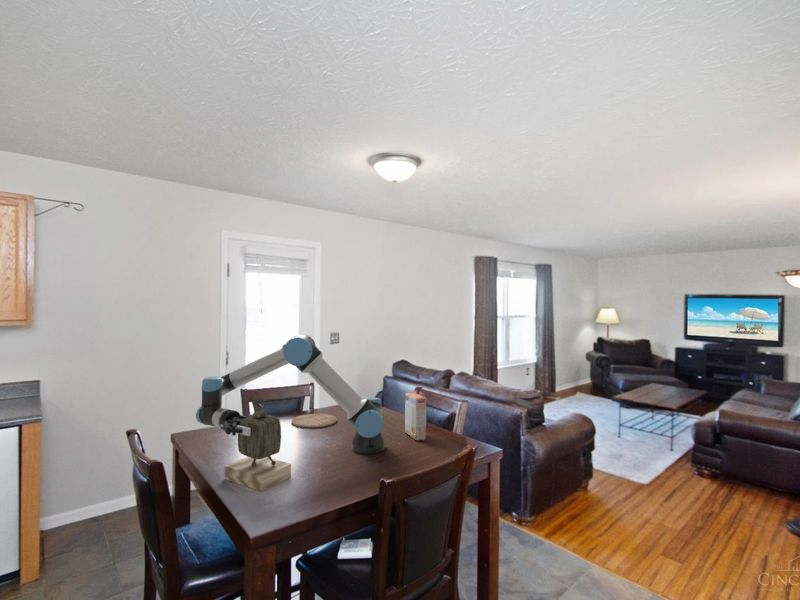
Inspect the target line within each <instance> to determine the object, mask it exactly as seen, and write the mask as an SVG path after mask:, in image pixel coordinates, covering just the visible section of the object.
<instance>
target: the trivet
mask: <svg viewBox="0 0 800 600" xmlns="http://www.w3.org/2000/svg"><path fill="white" fill-rule="evenodd" d="M337 420H338V418H337V417H336V416H335V415H333V414H329V413H309V414H301V415H297V416H296V417H294V418H292V420H291V426H293V427H294V426H296V427H295V428H298V427H300V428H299V429H304V428H317V429H323V428H322V427H324V428H328V427H327V426H329V427H331V426H330V425H332V426H334V425H335V424H337V422H338V421H337ZM333 424H334V425H333Z"/></svg>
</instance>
